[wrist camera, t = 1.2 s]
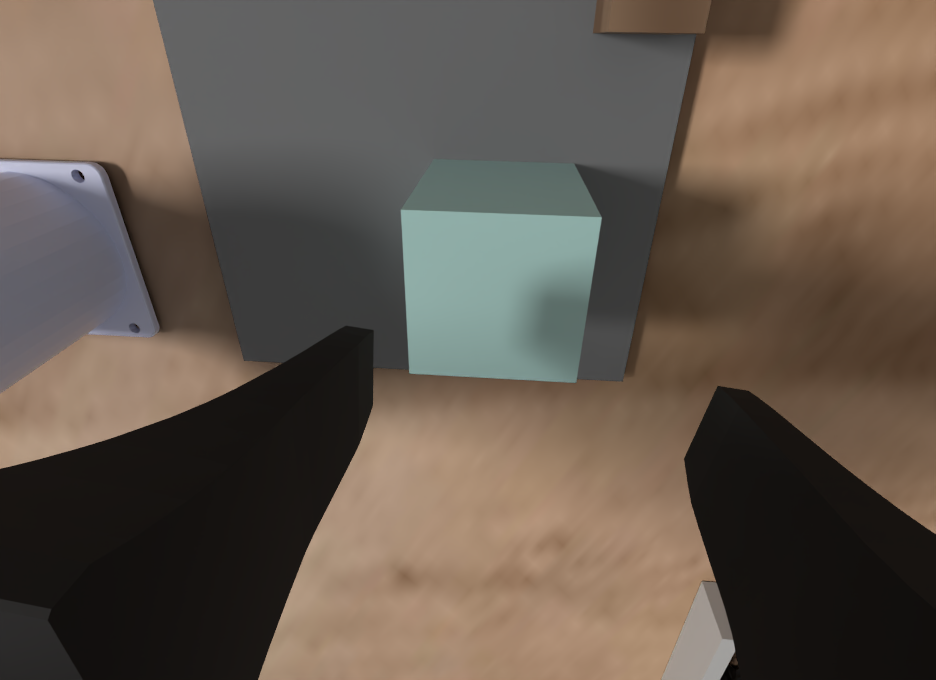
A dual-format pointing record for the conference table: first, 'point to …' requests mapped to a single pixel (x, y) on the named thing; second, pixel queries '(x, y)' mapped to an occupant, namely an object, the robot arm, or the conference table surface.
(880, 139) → the conference table surface
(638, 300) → the mat
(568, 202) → the pale aqua cube
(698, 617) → the gray hollow frame
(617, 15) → the brown cube
